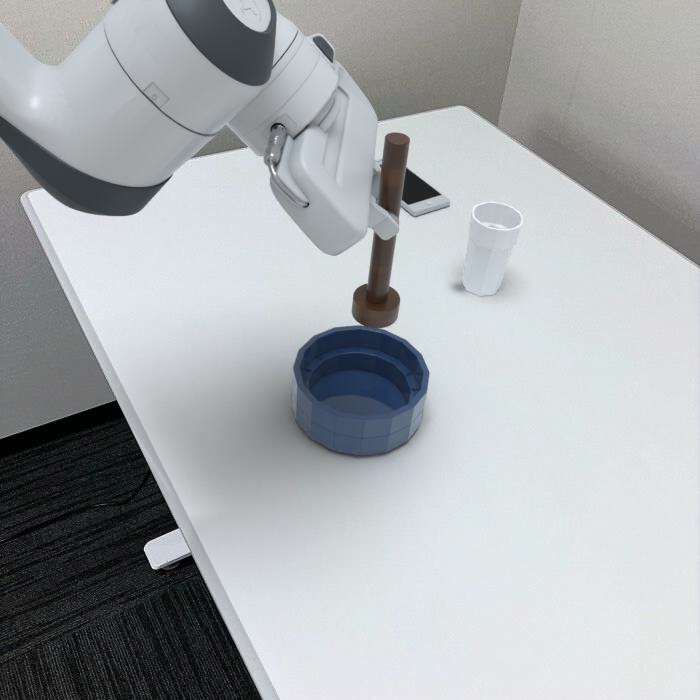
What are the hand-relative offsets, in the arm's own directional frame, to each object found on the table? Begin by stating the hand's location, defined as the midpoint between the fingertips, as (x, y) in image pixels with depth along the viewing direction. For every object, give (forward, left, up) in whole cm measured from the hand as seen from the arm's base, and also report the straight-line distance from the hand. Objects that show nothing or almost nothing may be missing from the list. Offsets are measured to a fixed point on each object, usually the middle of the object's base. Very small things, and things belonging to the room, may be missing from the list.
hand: (393, 220), depth 66 cm
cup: (+29, +13, -27) cm, 42 cm away
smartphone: (+35, +38, -27) cm, 59 cm away
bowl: (+1, +3, -27) cm, 27 cm away
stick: (0, 0, -10) cm, 10 cm away
